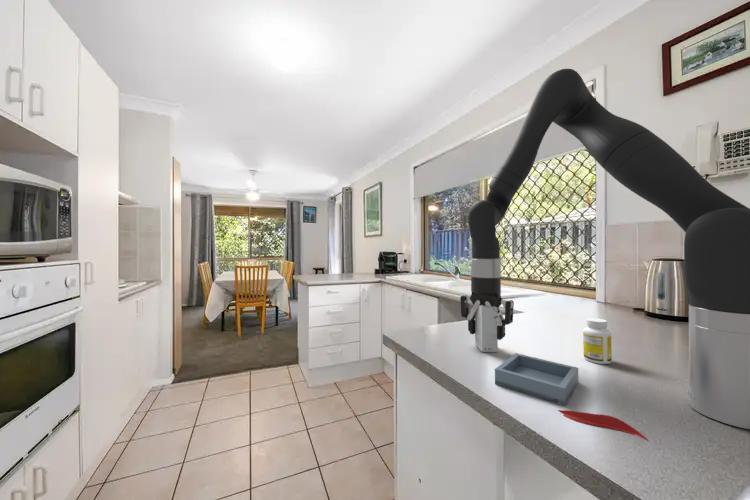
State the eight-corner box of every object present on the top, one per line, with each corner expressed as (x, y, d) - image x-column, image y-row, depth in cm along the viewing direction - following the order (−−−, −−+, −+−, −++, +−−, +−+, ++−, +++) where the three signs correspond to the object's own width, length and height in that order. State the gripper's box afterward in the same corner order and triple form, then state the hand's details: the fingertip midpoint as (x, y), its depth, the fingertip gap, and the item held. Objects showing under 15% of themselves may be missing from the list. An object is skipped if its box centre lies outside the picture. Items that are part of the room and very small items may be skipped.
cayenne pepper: (656, 440, 42) (656, 427, 42) (648, 454, 39) (648, 440, 39) (563, 405, 52) (563, 394, 52) (551, 414, 49) (551, 402, 49)
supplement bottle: (601, 356, 73) (601, 317, 73) (617, 365, 68) (617, 322, 68) (578, 356, 74) (578, 317, 74) (592, 364, 68) (592, 322, 68)
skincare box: (498, 352, 76) (498, 306, 76) (481, 352, 77) (481, 306, 76) (489, 344, 82) (489, 302, 82) (474, 344, 83) (474, 302, 83)
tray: (578, 382, 59) (578, 367, 59) (564, 405, 51) (564, 388, 51) (515, 366, 68) (515, 353, 67) (494, 383, 59) (494, 369, 59)
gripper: (518, 275, 77) (518, 338, 77) (467, 272, 87) (467, 328, 87) (507, 278, 72) (508, 345, 72) (454, 274, 82) (454, 334, 82)
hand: (485, 336), depth 80 cm, fingers closed on skincare box, 7 cm apart
